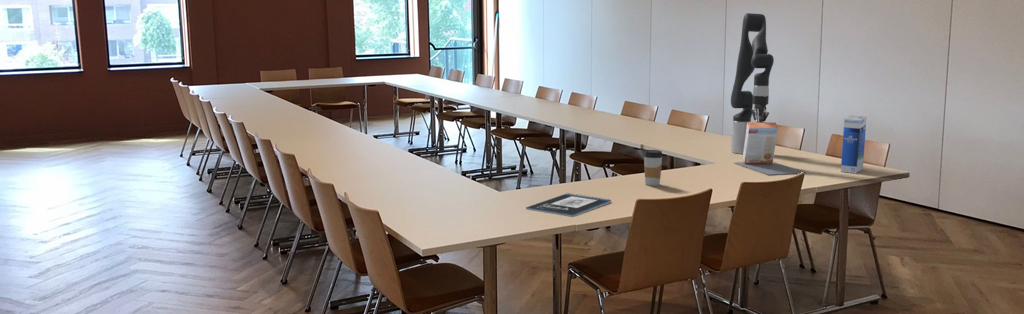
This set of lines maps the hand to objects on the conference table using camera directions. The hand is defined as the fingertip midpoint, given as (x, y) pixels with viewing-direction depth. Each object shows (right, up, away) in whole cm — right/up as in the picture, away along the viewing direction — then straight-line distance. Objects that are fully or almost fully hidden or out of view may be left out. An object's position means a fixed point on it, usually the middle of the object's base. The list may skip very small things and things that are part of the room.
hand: (759, 129), depth 429 cm
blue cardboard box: (+41, -20, -13) cm, 47 cm away
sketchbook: (-99, -33, -84) cm, 135 cm away
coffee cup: (-60, -26, -44) cm, 79 cm away
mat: (+3, -19, -6) cm, 20 cm away
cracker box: (0, -16, +4) cm, 16 cm away
